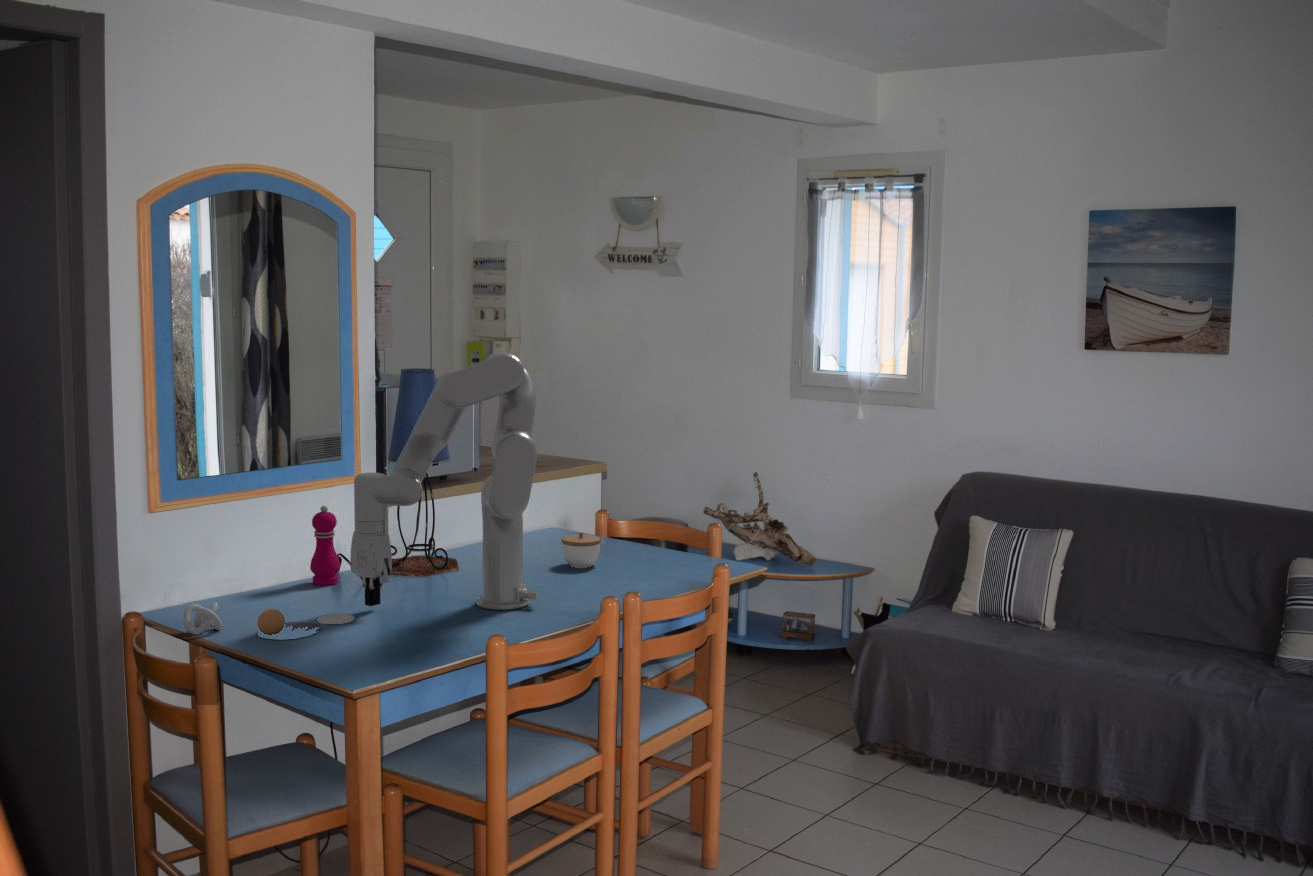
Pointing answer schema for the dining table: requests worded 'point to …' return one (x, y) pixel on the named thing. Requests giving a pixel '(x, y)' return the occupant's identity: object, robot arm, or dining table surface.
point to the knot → (206, 621)
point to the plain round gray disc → (335, 619)
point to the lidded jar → (581, 550)
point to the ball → (271, 621)
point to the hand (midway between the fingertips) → (372, 604)
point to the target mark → (301, 625)
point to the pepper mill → (324, 549)
